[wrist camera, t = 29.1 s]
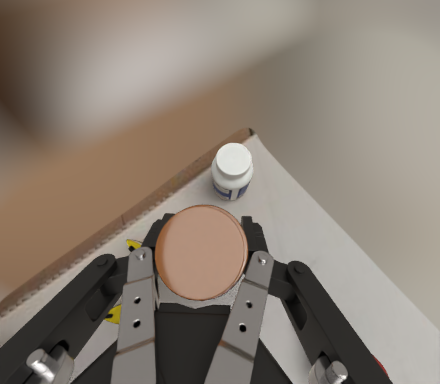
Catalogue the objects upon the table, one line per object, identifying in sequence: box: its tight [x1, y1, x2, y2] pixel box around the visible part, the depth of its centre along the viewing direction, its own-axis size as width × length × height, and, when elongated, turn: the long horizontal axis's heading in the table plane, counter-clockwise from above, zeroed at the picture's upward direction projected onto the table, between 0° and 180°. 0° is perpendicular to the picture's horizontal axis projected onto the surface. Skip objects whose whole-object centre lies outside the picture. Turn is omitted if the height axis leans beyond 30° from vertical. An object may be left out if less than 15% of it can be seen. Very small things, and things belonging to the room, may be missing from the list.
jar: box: [155, 205, 248, 301], centre depth 13 cm, size 5×5×10 cm
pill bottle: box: [211, 143, 253, 201], centre depth 25 cm, size 5×5×10 cm
